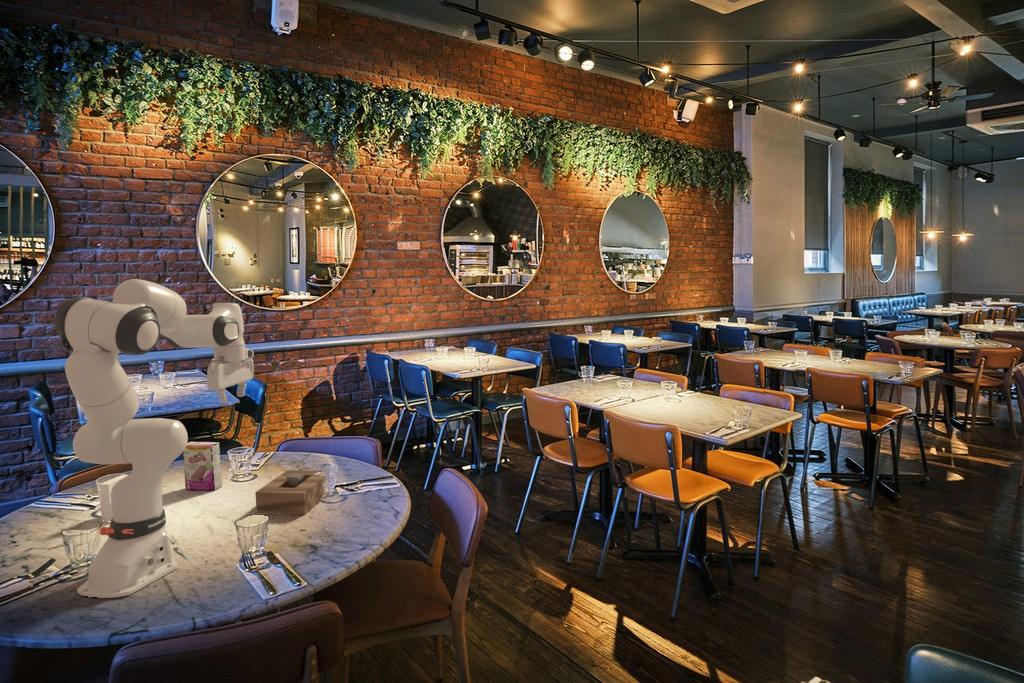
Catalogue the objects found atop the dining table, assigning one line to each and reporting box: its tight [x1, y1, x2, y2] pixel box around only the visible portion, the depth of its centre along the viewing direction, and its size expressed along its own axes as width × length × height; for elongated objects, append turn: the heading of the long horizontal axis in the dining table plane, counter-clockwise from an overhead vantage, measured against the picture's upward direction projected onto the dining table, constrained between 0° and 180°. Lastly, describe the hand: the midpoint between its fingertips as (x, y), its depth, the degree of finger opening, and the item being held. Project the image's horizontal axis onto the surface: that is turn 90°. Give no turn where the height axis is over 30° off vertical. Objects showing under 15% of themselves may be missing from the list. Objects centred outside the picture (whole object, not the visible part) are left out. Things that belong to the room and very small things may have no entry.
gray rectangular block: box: [286, 473, 304, 488], centre depth 205 cm, size 4×4×8 cm
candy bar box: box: [182, 441, 223, 492], centre depth 219 cm, size 11×5×16 cm, turn 84°
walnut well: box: [255, 469, 325, 515], centre depth 205 cm, size 22×16×7 cm
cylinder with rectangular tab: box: [99, 474, 129, 522], centre depth 195 cm, size 9×9×12 cm
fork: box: [169, 534, 197, 565], centre depth 169 cm, size 3×24×2 cm, turn 46°
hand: (232, 399), depth 191 cm, fingers open, 8 cm apart
